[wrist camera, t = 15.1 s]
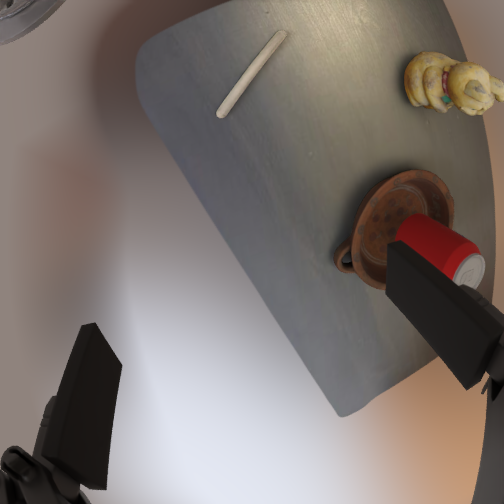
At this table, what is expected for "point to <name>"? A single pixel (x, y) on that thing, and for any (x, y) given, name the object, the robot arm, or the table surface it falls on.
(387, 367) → the table surface
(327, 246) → the table surface
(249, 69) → the wooden stick
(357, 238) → the dish
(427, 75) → the decorative figurine
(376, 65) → the table surface
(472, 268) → the beverage can
